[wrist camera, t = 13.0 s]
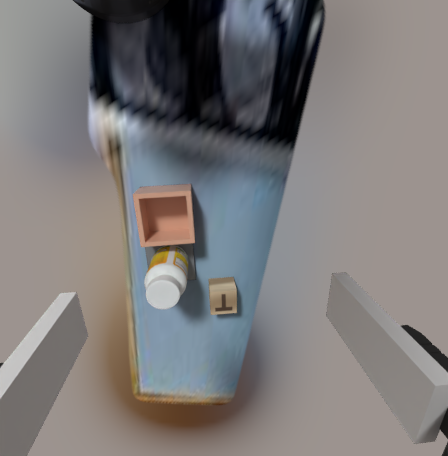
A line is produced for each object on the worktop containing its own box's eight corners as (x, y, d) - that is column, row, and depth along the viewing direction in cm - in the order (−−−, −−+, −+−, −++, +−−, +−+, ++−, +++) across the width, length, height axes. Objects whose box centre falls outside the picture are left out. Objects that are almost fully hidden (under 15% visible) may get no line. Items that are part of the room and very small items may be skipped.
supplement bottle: (191, 247, 40) (190, 279, 31) (184, 278, 42) (181, 317, 33) (155, 240, 39) (143, 271, 30) (149, 272, 41) (136, 311, 32)
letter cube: (208, 278, 43) (209, 292, 39) (233, 276, 44) (236, 290, 40) (209, 300, 45) (210, 315, 41) (233, 298, 45) (237, 313, 41)
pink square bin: (140, 186, 37) (132, 194, 33) (191, 183, 38) (190, 190, 33) (147, 233, 40) (141, 247, 35) (194, 230, 40) (195, 242, 35)
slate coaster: (144, 240, 40) (144, 241, 39) (192, 236, 40) (192, 238, 40) (151, 281, 42) (150, 283, 42) (195, 277, 43) (195, 279, 42)
